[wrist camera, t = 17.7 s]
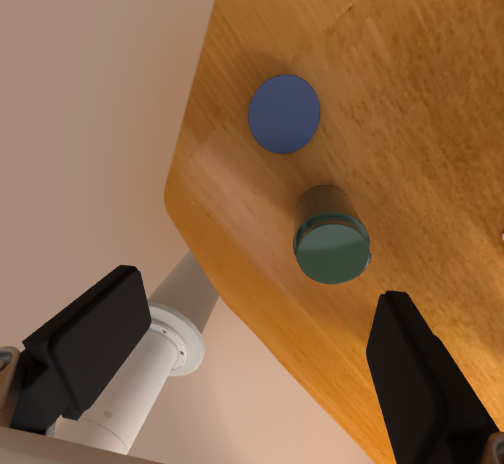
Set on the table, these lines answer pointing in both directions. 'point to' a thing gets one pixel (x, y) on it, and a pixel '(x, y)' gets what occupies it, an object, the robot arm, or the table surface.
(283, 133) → the lid
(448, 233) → the table surface
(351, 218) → the jam jar
